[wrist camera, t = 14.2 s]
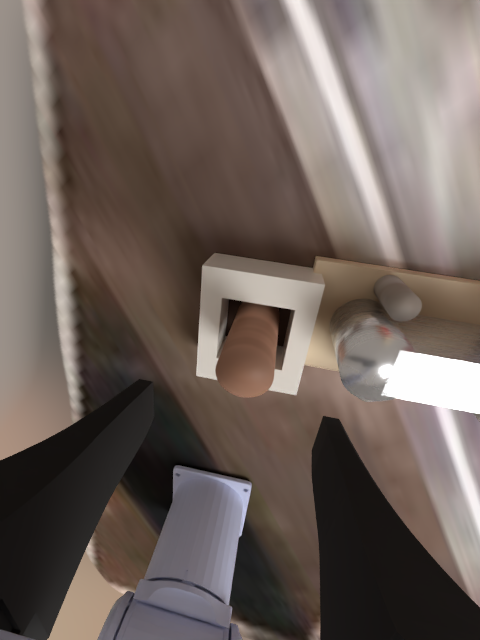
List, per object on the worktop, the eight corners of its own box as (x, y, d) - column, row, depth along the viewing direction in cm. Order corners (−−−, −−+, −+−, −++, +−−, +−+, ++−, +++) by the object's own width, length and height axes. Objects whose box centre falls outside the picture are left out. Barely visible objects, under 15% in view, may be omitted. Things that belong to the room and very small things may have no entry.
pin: (273, 337, 22) (266, 403, 16) (234, 327, 22) (211, 389, 16) (284, 301, 20) (280, 357, 14) (242, 291, 20) (220, 342, 14)
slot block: (295, 369, 23) (296, 395, 20) (207, 352, 23) (196, 375, 21) (320, 269, 19) (325, 284, 16) (214, 252, 20) (202, 265, 17)
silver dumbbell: (595, 335, 17) (701, 392, 13) (556, 386, 19) (636, 451, 14) (338, 294, 18) (352, 332, 14) (323, 345, 20) (331, 393, 16)
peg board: (519, 396, 21) (566, 443, 17) (292, 355, 22) (292, 389, 19) (591, 297, 17) (669, 330, 14) (315, 255, 19) (320, 275, 15)
